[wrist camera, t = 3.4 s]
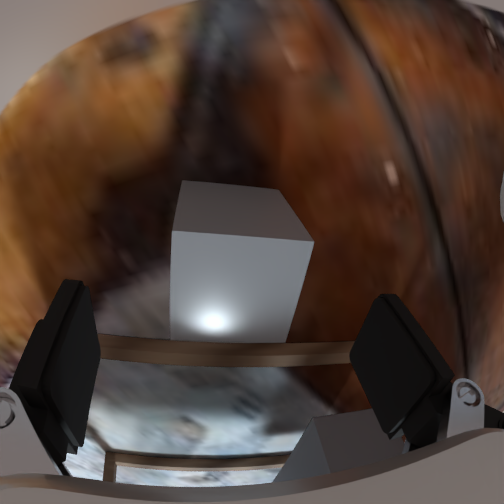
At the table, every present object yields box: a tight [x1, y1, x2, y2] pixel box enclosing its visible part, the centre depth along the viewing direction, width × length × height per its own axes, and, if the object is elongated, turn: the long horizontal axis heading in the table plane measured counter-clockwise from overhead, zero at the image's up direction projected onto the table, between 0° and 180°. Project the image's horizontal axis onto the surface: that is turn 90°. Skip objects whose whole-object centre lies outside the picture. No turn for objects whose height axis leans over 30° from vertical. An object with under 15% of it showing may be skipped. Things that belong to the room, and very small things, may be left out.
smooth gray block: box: [170, 180, 314, 343], centre depth 15 cm, size 5×5×6 cm
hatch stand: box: [97, 334, 355, 482], centre depth 20 cm, size 26×21×14 cm
